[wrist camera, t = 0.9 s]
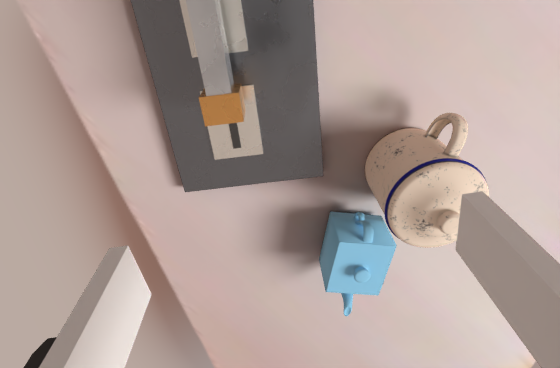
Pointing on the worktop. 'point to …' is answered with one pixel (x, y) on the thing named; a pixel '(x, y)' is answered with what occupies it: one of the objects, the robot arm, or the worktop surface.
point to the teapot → (355, 255)
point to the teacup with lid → (423, 181)
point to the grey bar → (215, 65)
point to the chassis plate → (255, 85)
